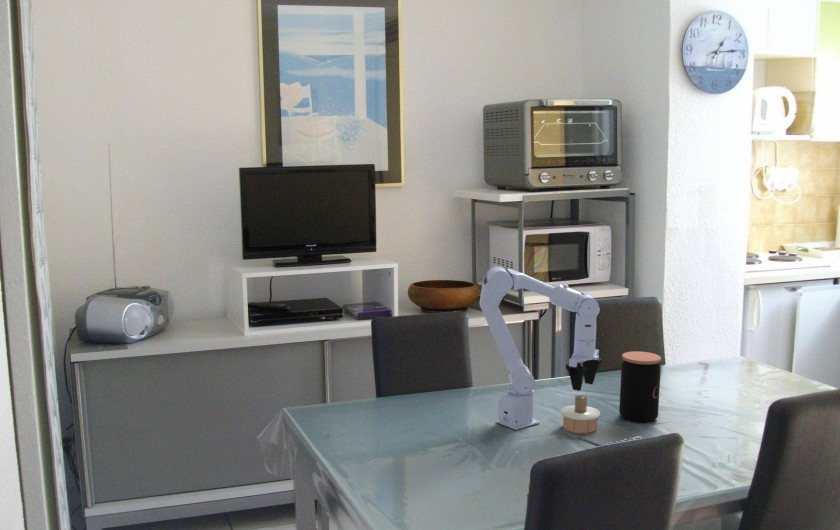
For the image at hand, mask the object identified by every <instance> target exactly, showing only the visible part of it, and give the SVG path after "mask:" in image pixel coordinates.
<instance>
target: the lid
mask: <svg viewBox="0 0 840 530" xmlns="http://www.w3.org/2000/svg"><path fill="white" fill-rule="evenodd" d="M560 414H561V415H562V417H563V416H564V417H566V418H569V419H573V420H580V421H589V420H595V419H597V418H598V419H599V418H600V417H601V412H600V410H599V409H597V408H595V407H591V406H588V397H587V396H586V395H575V396H574V405H567V406H564V407H562V408H561V410H560Z"/></svg>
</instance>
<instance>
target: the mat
mask: <svg viewBox="0 0 840 530" xmlns="http://www.w3.org/2000/svg"><path fill="white" fill-rule="evenodd" d="M636 436H641V434H638V433H634V432H632V431H630V430H627V429H623V428H620V427H617V426H615V425H613V426H609V427H605V428H603V429H600V430H596V432H593V433H590V434H582V435H580V436H578V439H580V440H582V441H585V442H587V441H588V443H590V444H593V445H595V446H597V447H600V446H602V445H605V444H606V443H608V444H612V443H617V442H616V441H618V442H622V441H620V440H624V439H625V438H626V439H627V440H624V441H628V440H629V439H630V440H633V439H631V438H633V437H636ZM642 438H645V436H643V437H642ZM635 439H640V438H635ZM609 442H612V443H609Z"/></svg>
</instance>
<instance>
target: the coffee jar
mask: <svg viewBox="0 0 840 530" xmlns="http://www.w3.org/2000/svg"><path fill="white" fill-rule="evenodd" d="M621 358H622V360H623V361H622V362H621V369H620V387H619V388H620V390H619V392H620V393H619V409H618V412H619V415H620V417H621V418H622V419H623V420H624V419H625V421H626V420H627V422H629V421H630V423H633V422H636V424H651V423H654V422H655V421H656V419H658V417H659V408H660V407H659V405H660V387H661V369H662V368H661V367H662V366H661V364H660V363H661V361H662V357H661V355H658V354H656V353H653V352H649V351H648V352H647V351H639V350H638V351H635V350H634V351H627V352H624V353H622V355H621Z"/></svg>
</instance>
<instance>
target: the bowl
mask: <svg viewBox="0 0 840 530" xmlns="http://www.w3.org/2000/svg"><path fill="white" fill-rule="evenodd" d="M598 419H599V418H597V419H595V420H589V421H580V420H573V419H569V418H566V417H564V416H563V415H562V427H563V430H564V431H566V432H569V433H572V434H576V435H577V434H578V435H586V434H590V433H593V432H595V431H598V430H597V429H598Z"/></svg>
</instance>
